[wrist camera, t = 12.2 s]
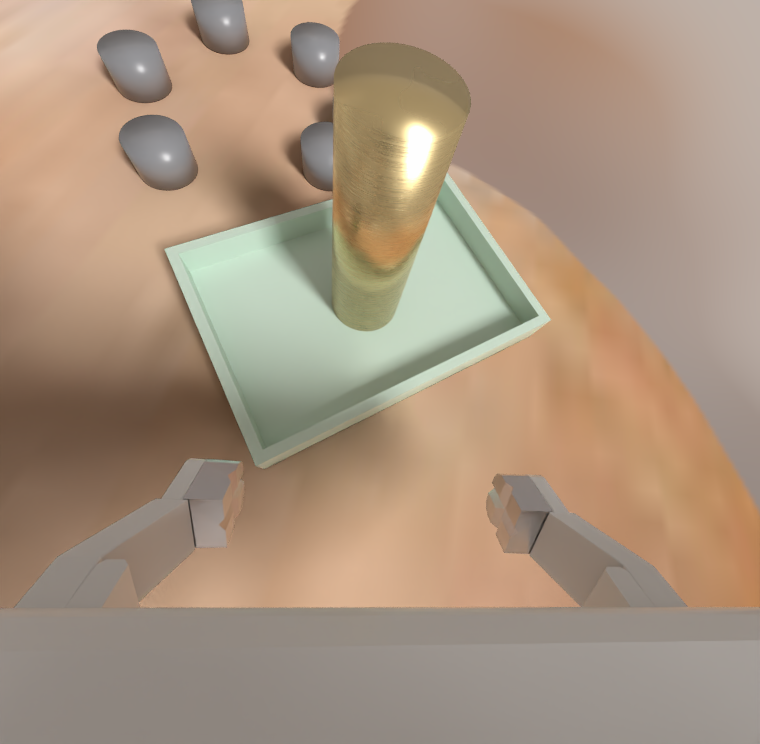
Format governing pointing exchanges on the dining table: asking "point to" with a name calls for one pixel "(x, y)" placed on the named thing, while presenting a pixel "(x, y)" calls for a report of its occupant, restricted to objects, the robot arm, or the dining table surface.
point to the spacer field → (152, 83)
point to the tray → (328, 334)
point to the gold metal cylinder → (387, 170)
